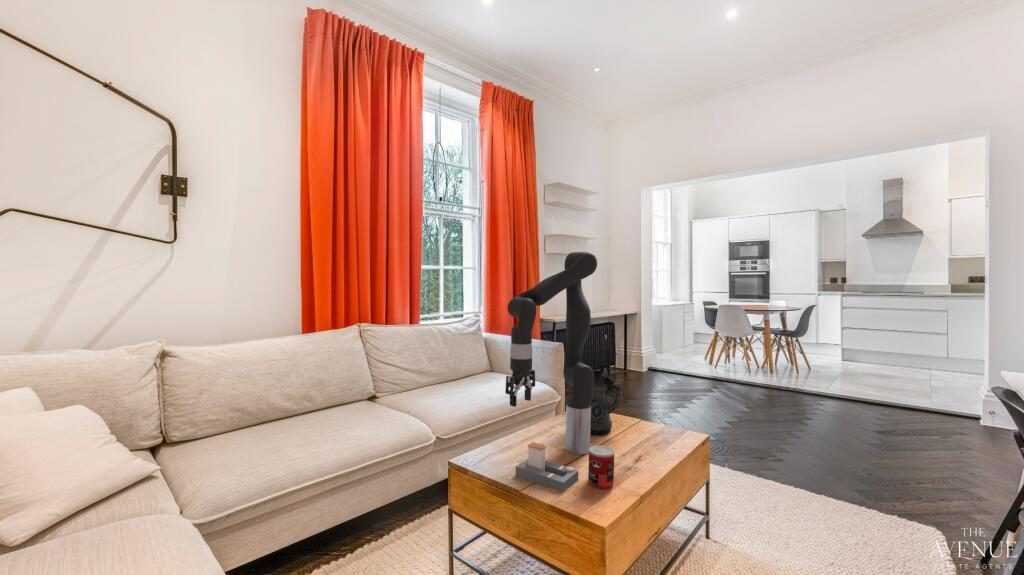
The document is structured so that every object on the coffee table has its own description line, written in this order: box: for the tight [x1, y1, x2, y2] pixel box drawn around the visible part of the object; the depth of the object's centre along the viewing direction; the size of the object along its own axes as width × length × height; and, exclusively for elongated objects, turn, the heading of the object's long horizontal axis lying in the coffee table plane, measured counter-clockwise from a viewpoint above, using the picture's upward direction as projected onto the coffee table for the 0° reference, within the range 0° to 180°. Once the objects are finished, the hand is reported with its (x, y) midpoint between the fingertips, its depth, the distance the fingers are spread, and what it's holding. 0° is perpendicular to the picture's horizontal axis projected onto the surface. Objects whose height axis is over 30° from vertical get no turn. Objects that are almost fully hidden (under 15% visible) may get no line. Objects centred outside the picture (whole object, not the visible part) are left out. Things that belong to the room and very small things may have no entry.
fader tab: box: [527, 441, 547, 471], centre depth 144 cm, size 3×5×10 cm, turn 54°
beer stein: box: [590, 370, 623, 437], centre depth 186 cm, size 16×19×25 cm
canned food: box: [587, 445, 615, 490], centre depth 138 cm, size 8×8×11 cm
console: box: [515, 458, 579, 493], centre depth 142 cm, size 10×18×4 cm, turn 54°
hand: (520, 403), depth 147 cm, fingers open, 8 cm apart
